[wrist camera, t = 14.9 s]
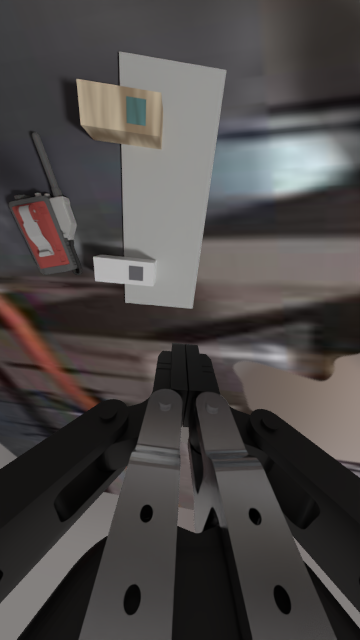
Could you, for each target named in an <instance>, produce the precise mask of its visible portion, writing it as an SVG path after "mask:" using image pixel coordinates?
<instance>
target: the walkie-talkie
mask: <svg viewBox="0 0 360 640" xmlns="http://www.w3.org/2000/svg"><path fill="white" fill-rule="evenodd" d="M32 138H33V140H34V143H35V146H36V148H37V151H38V153H39V156H40V159H41V161H42V164H43V167H44V169H45V172H46V175H47V177H48V180H49V183H50V185H51V188H52V189H51V190H52V193H53V195H54V198H52V197H51V196H50V194H44V195H45V196H42V195H41V193H35V196H36V197H32V198H30V196H28V195H15V196H14V198H15V200H16V201H11V202H9V208H10V210H11V212H12V214H13V216H14V218H15V220H16V222H17V224H18V227H19V229H20V231H21V233H22V235H23V236H24V239H25V240H26V243H27V244H28V247H29V249H30V251H31V253H32V256H33V257H34V260H35V261H36V263H37V266H38V267H39V270H40V272H41V273H43V274H44V275H47V274H53V273H59V272H64V271H70V270H72V271H73V273H74V274H76V275H80V274H82V267H81V264H80V262H79V259H78V257H77V254H76V251H75V249H74V241H73V240H74V239H75V238H74V234H75V230H76V226H77V224H76V221H75V218H74V215H73V212H72V210H71V207H70V201H69V198H66V197H63V195H62V192H61V189H60V188H59V187H58V184H57V181H56V178H55V176H54V173H53V170H52V167H51V165H50V162H49V159H48V157H47V154H46V152H45V149H44V146H43V144H42V141H41V138H40V136H39V134H38V133H36V132H33V133H32ZM77 268H79V273H78V272H77V271H76V270H75V269H77Z"/></svg>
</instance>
